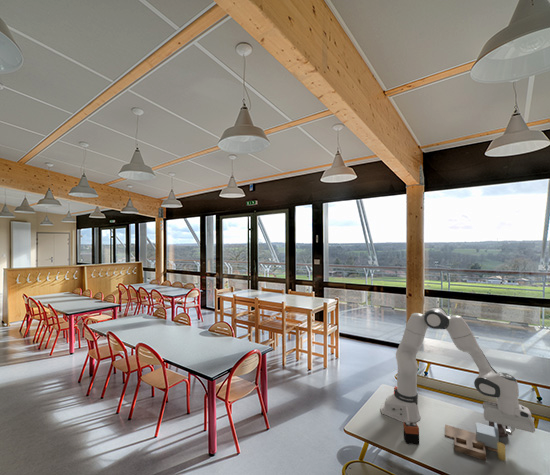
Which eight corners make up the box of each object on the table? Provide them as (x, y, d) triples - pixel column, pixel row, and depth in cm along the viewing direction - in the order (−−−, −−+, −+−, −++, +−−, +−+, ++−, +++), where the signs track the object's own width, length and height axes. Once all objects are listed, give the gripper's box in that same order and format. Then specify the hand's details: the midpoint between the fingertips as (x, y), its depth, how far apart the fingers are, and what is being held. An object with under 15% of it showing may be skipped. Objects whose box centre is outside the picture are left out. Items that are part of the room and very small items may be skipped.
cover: (477, 443, 147) (476, 425, 147) (476, 433, 155) (475, 416, 155) (499, 449, 142) (498, 431, 142) (496, 439, 150) (496, 422, 150)
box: (499, 429, 159) (498, 416, 159) (508, 436, 153) (507, 423, 153) (488, 429, 159) (488, 416, 159) (497, 437, 153) (497, 423, 153)
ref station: (444, 436, 154) (444, 425, 154) (445, 425, 163) (445, 415, 163) (500, 453, 142) (500, 441, 142) (497, 441, 150) (497, 430, 150)
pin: (498, 459, 138) (497, 445, 138) (497, 455, 140) (497, 441, 140) (506, 461, 136) (505, 447, 136) (505, 457, 139) (504, 443, 139)
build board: (454, 450, 144) (454, 444, 144) (454, 439, 152) (454, 434, 152) (486, 460, 137) (486, 454, 137) (484, 449, 145) (484, 443, 145)
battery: (403, 438, 153) (403, 419, 153) (416, 439, 152) (416, 420, 152) (405, 444, 149) (405, 425, 149) (419, 445, 148) (419, 426, 148)
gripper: (483, 403, 147) (483, 430, 147) (535, 416, 136) (536, 445, 136) (482, 397, 152) (482, 423, 152) (532, 409, 141) (533, 437, 141)
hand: (508, 433), depth 144 cm, fingers closed
